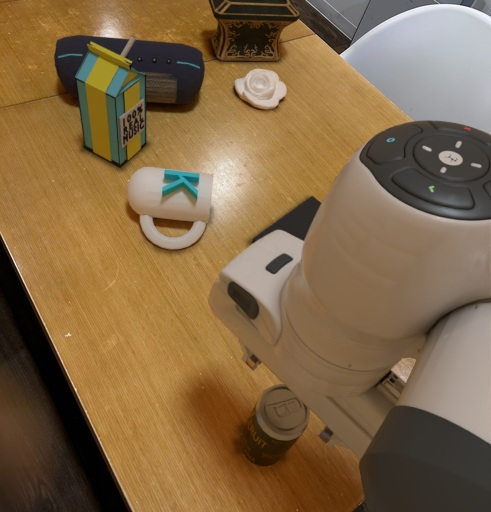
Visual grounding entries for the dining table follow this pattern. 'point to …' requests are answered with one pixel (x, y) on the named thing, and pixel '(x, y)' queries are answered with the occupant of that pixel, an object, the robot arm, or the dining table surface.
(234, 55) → the decorative box
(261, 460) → the beer can
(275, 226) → the mat
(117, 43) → the portable speaker
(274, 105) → the rose
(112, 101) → the carton
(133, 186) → the mug
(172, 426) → the dining table surface
